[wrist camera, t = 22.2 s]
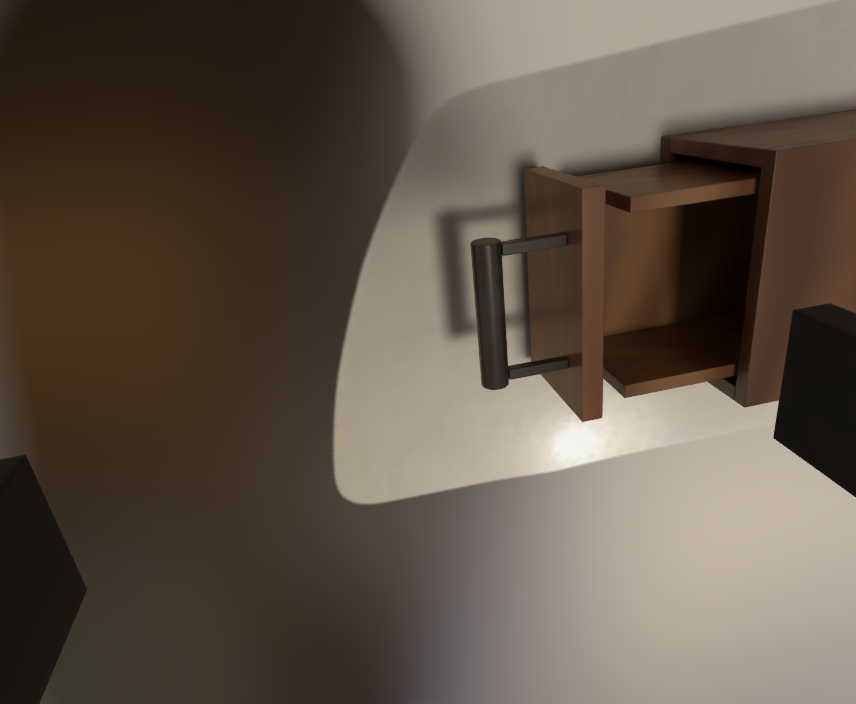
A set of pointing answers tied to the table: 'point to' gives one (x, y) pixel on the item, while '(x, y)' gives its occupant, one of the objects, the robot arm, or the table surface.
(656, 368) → the drawer
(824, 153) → the cabinet
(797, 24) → the table surface
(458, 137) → the table surface
